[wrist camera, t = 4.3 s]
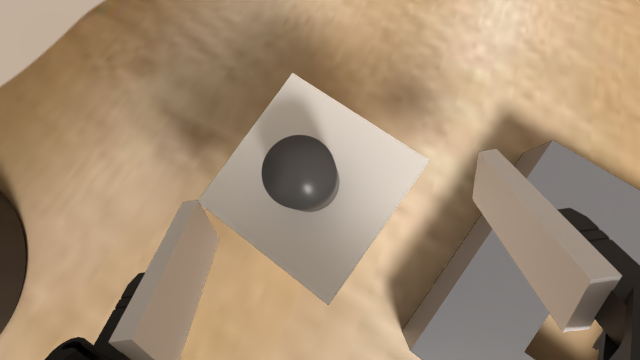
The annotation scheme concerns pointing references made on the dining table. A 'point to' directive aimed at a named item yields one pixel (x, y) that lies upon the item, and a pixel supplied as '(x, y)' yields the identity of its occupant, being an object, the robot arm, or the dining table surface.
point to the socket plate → (515, 265)
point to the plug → (312, 186)
